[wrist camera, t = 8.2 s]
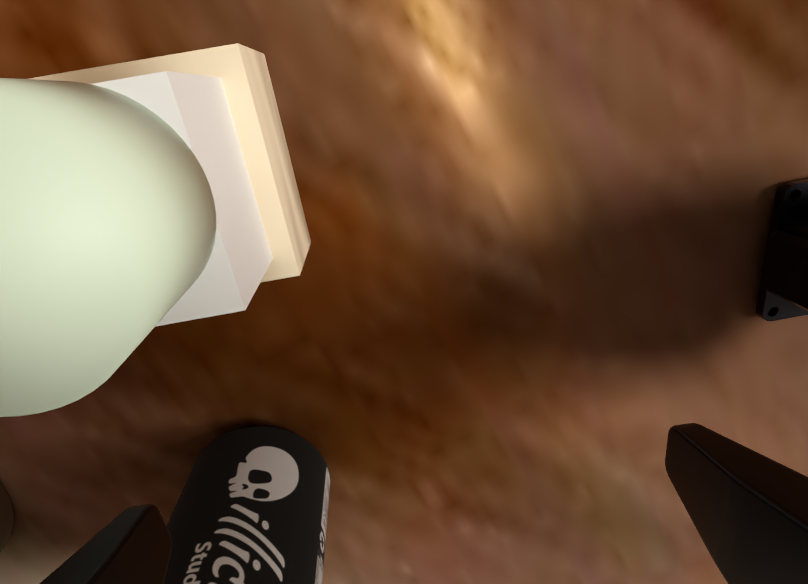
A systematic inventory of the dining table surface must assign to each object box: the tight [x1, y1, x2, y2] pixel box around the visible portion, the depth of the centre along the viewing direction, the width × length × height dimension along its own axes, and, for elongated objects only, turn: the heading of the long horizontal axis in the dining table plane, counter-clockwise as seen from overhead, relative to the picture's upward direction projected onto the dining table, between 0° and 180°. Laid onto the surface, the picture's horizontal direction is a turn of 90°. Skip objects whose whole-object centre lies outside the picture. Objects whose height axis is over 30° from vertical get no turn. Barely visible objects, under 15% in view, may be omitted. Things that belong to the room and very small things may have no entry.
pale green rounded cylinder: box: [0, 78, 216, 417], centre depth 9 cm, size 5×5×4 cm
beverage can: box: [163, 426, 330, 584], centre depth 18 cm, size 7×7×12 cm
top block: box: [92, 71, 273, 326], centre depth 12 cm, size 6×6×4 cm
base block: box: [30, 43, 311, 282], centre depth 16 cm, size 7×7×4 cm
